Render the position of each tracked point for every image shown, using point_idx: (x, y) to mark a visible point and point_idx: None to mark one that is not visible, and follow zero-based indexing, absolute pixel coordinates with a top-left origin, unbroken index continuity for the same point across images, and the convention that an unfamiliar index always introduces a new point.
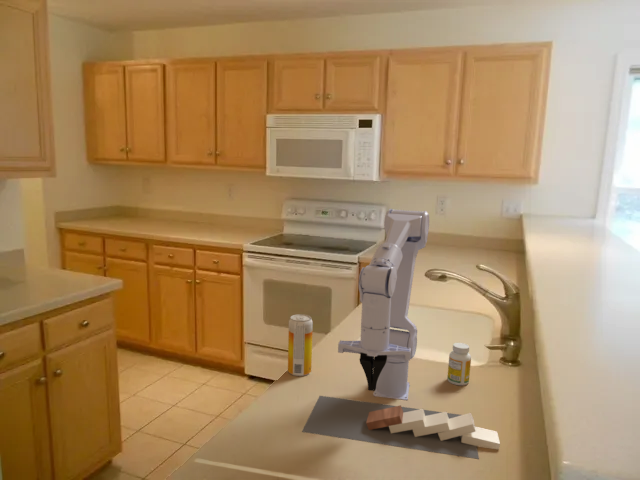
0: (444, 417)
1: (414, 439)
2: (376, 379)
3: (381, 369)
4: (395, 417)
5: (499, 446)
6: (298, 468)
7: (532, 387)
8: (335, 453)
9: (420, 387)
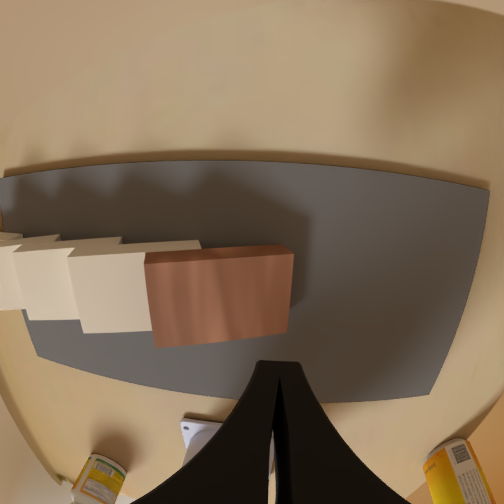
0: (25, 287)
1: (121, 220)
2: (240, 413)
3: (166, 485)
4: (163, 261)
5: None
6: (453, 22)
7: (19, 429)
8: (382, 88)
9: (167, 459)
